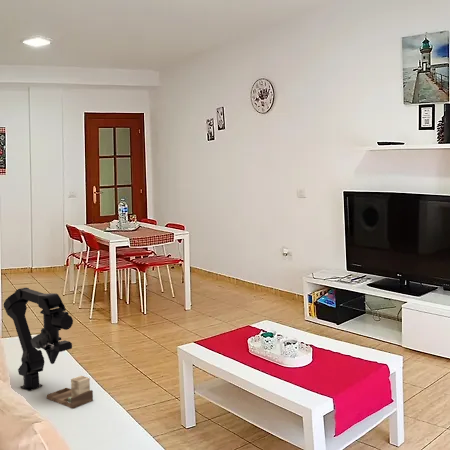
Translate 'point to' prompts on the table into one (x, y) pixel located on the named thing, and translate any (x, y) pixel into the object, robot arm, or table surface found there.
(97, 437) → the table surface
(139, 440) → the table surface
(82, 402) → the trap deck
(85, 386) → the birch block
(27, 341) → the robot arm
